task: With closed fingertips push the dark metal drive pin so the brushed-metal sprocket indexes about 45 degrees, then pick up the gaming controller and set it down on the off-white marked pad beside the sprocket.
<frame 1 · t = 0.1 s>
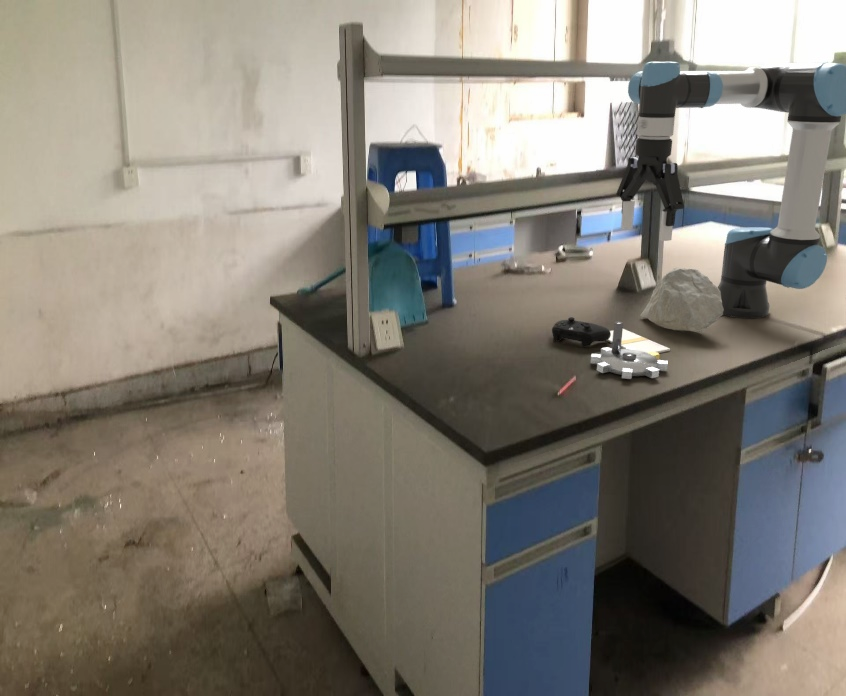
hand: (645, 234, 178), 28 cm above the worktop, fingers open, 13 cm apart
marked pad: (631, 342, 194), on the worktop
grey rock: (676, 329, 204), on the worktop
sprocket: (630, 347, 176), point 5 cm above the worktop, hinge at 0.0°
gaming controller: (577, 340, 195), on the worktop, touching marked pad
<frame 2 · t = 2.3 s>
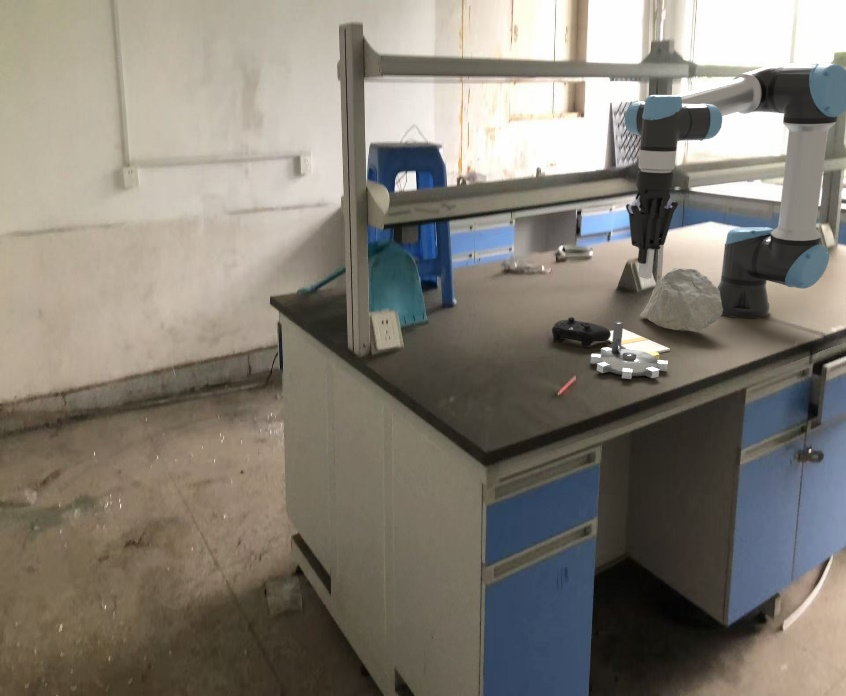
hand: (644, 277, 178), 19 cm above the worktop, fingers closed
nothing on the worktop moved.
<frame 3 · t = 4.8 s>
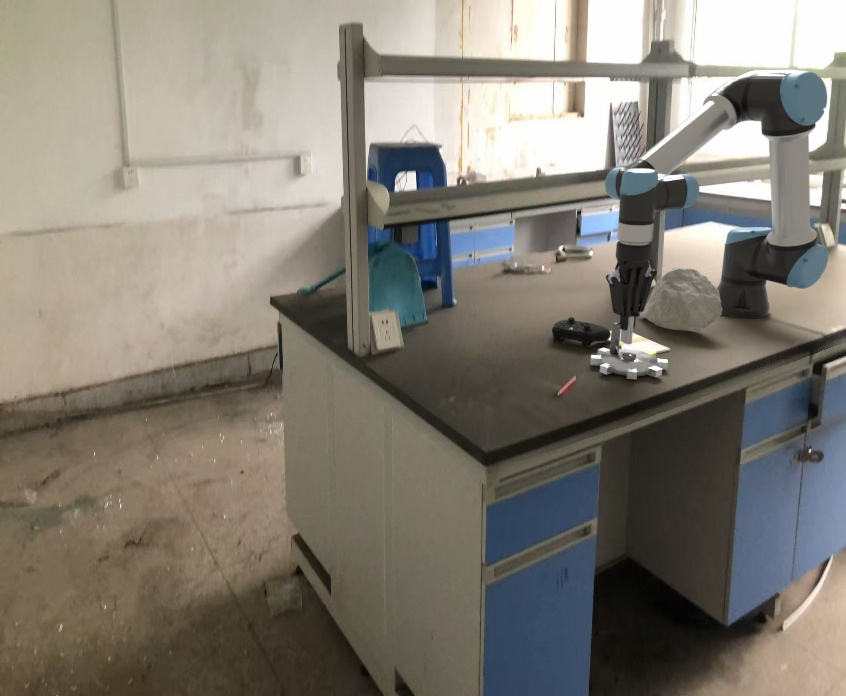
hand: (625, 342, 181), 4 cm above the worktop, fingers closed
sprocket: (630, 347, 176), point 5 cm above the worktop, hinge at 7.5°, touching gripper
everything else where it was.
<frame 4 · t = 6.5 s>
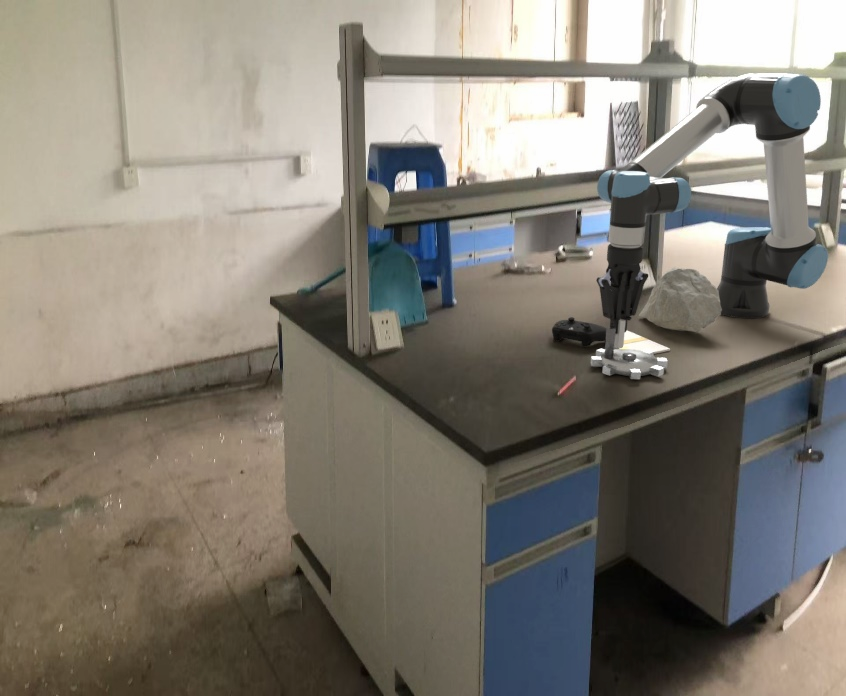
hand: (616, 346, 180), 4 cm above the worktop, fingers closed
sprocket: (630, 347, 176), point 5 cm above the worktop, hinge at 57.9°
everything else where it was.
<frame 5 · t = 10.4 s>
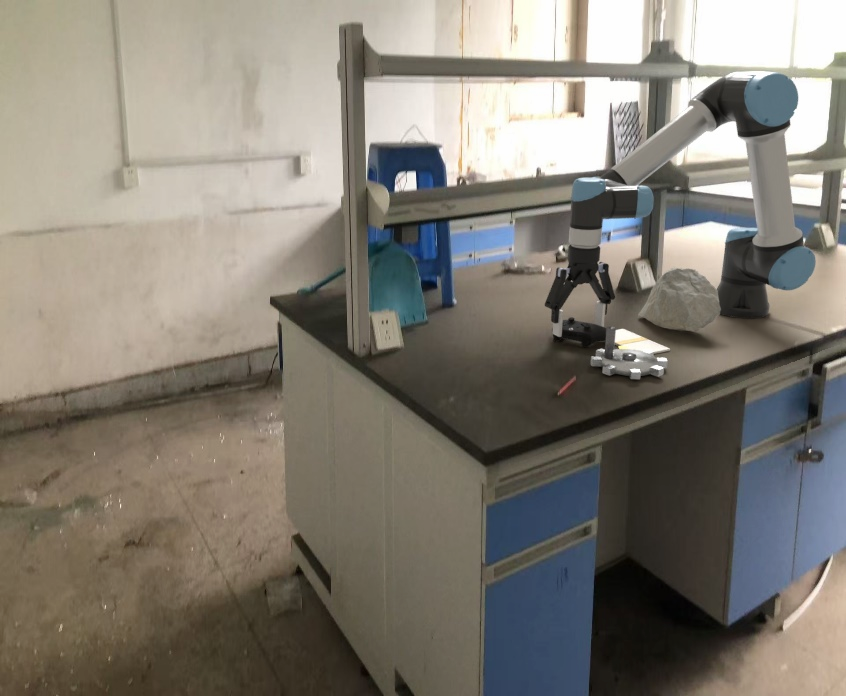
hand: (578, 331, 194), 2 cm above the worktop, fingers closed on gaming controller, 12 cm apart
gaming controller: (577, 340, 195), on the worktop, touching gripper, marked pad
everything else where it was.
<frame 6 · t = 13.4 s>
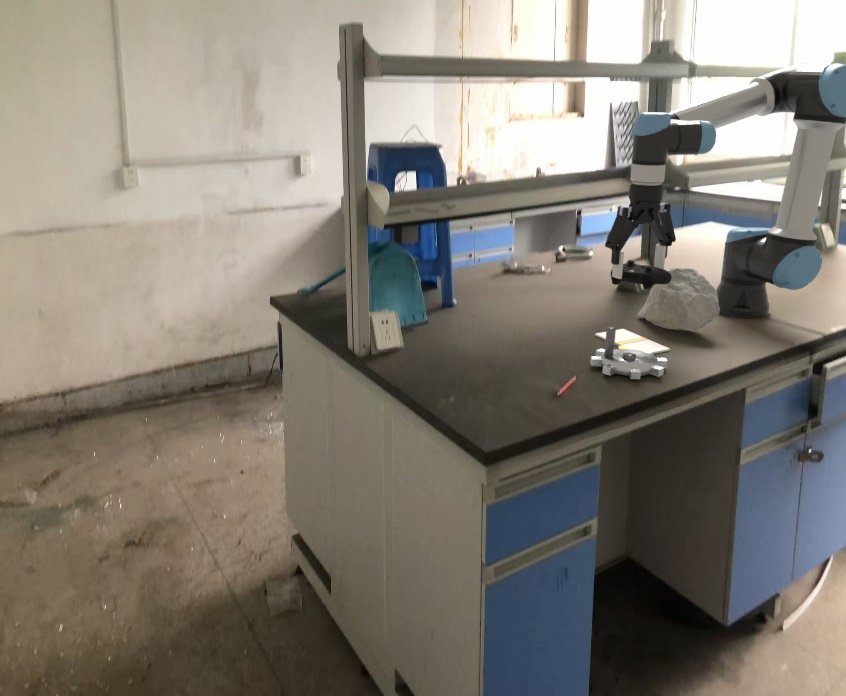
hand: (637, 274, 188), 17 cm above the worktop, fingers closed on gaming controller, 12 cm apart
gaming controller: (636, 284, 189), point 15 cm above the worktop, touching gripper
everything else where it was.
when the fingers open (4 cm above the worktop, at t = 16.2 s): gaming controller drops 2 cm, resting on marked pad.
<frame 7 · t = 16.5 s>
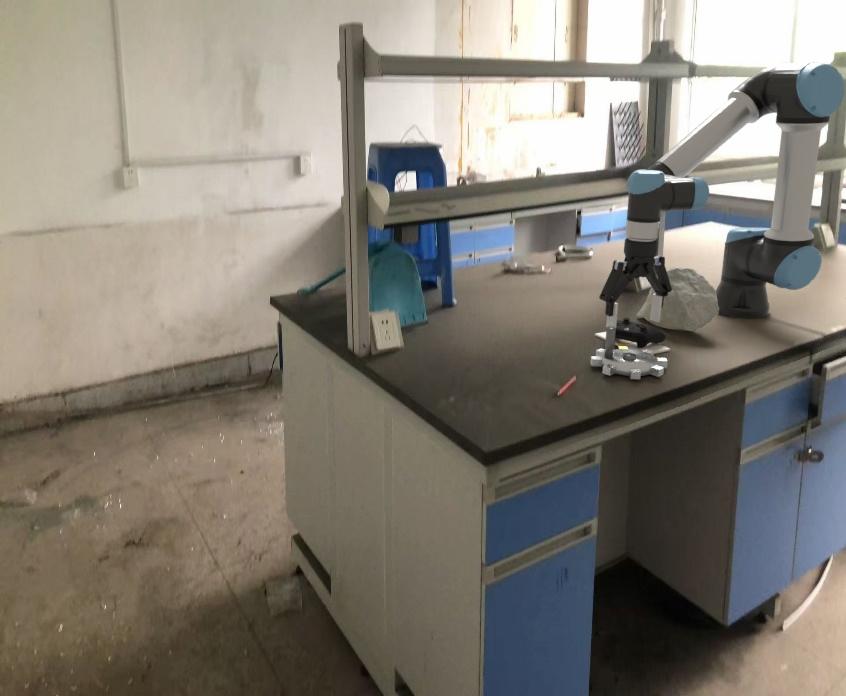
hand: (633, 324, 192), 5 cm above the worktop, fingers open, 13 cm apart
gaming controller: (631, 341, 193), resting on marked pad
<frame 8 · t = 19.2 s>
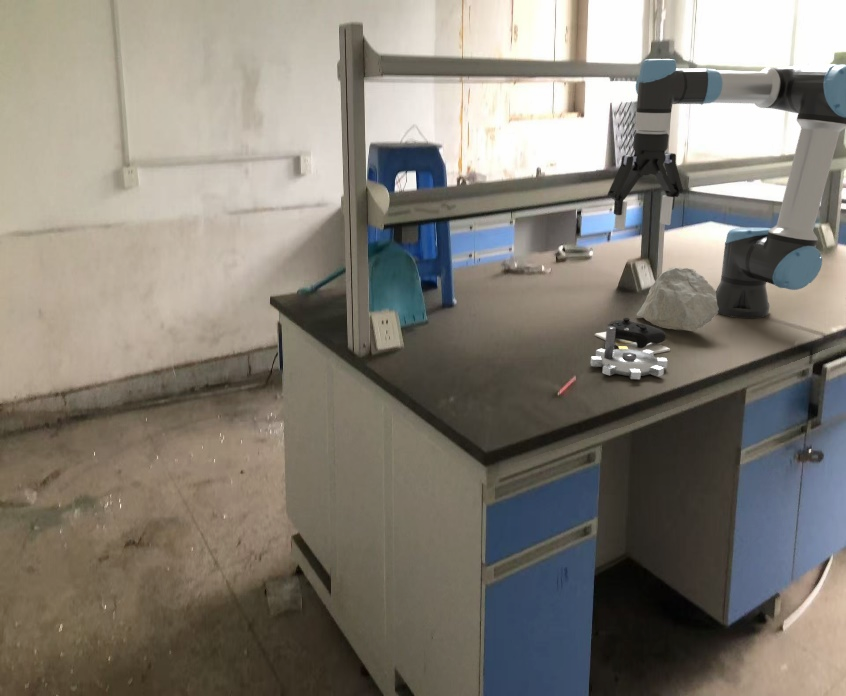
hand: (642, 226, 184), 29 cm above the worktop, fingers open, 13 cm apart
at the end: sprocket at +58° (first picture: +0°); gaming controller 0.2 cm from the marked pad (horizontally); gaming controller tilted 1° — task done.
